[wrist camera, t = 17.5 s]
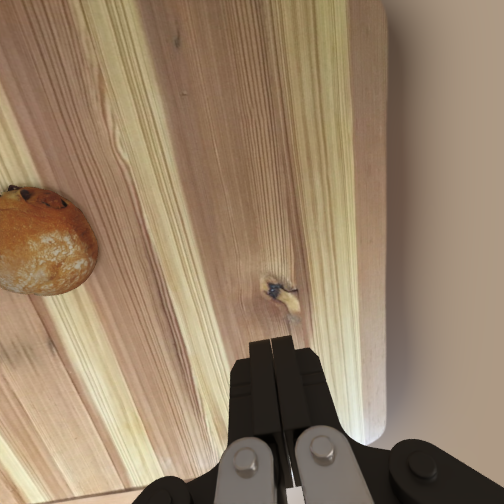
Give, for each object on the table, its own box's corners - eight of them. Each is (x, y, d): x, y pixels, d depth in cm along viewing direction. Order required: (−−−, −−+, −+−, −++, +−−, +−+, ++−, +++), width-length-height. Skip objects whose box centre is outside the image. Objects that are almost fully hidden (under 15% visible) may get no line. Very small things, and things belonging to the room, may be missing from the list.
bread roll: (26, 253, 36) (-10, 317, 31) (-35, 176, 28) (-96, 243, 23) (116, 250, 36) (97, 313, 31) (80, 173, 29) (46, 239, 23)
